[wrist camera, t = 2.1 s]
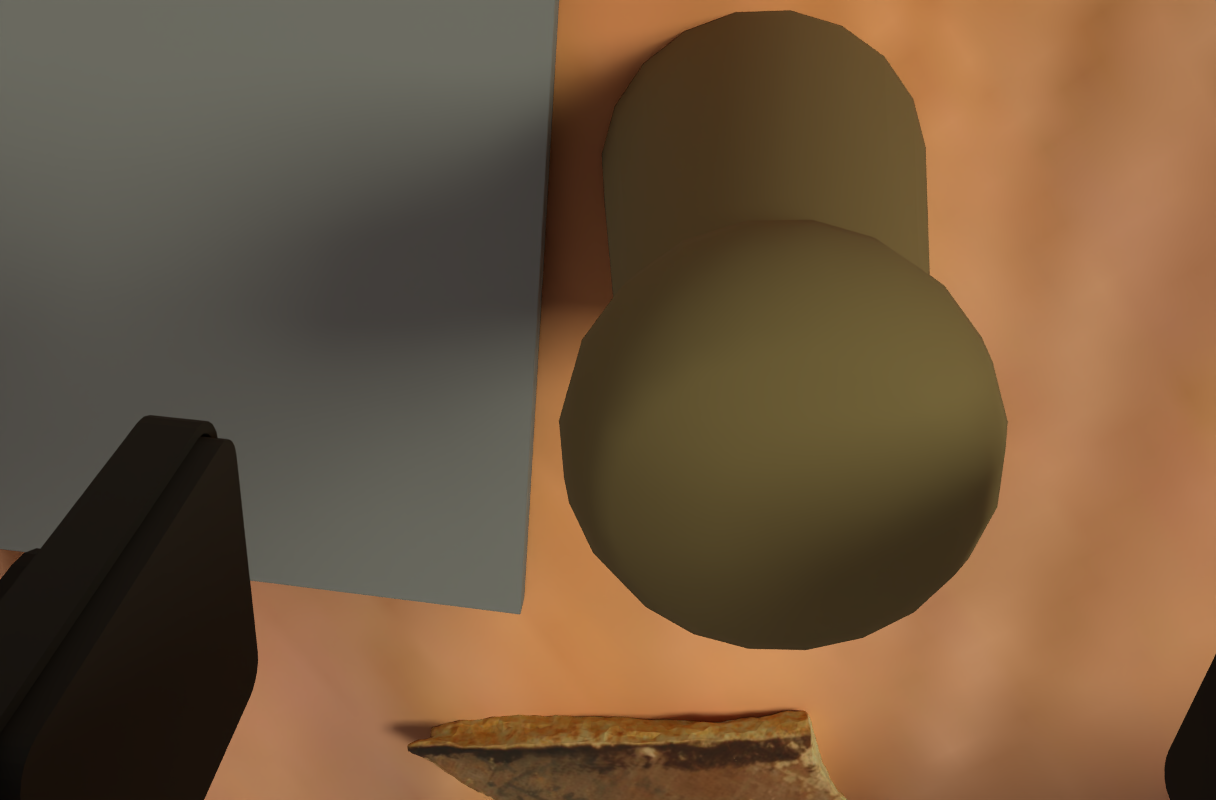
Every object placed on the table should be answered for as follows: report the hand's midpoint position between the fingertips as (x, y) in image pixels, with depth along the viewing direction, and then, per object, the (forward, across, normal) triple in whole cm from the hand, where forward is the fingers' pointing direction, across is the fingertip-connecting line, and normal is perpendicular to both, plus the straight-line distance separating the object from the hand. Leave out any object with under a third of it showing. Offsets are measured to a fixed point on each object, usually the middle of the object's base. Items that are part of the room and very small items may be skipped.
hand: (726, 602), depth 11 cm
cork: (+13, -1, 0) cm, 13 cm away
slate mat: (+13, +13, +4) cm, 19 cm away
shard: (+13, -1, +18) cm, 23 cm away
